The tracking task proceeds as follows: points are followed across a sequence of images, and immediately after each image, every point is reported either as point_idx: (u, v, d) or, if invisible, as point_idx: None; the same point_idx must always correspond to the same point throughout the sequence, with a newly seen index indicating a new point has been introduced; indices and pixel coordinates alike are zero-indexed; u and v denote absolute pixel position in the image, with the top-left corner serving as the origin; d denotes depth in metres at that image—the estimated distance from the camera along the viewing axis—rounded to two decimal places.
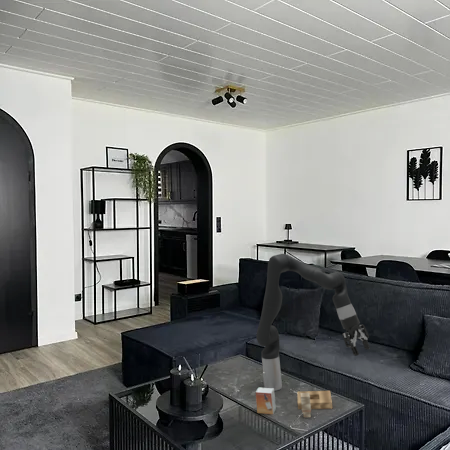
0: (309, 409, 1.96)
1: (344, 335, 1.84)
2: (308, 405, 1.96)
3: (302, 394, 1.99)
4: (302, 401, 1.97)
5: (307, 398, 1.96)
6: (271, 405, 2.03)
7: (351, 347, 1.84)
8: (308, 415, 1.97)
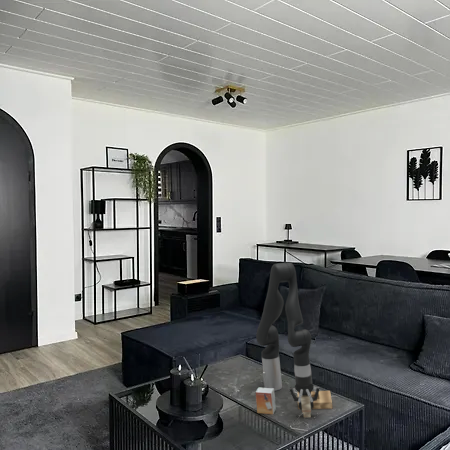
0: (309, 409, 1.96)
1: None
2: (308, 405, 1.96)
3: None
4: (302, 401, 1.97)
5: (307, 398, 1.96)
6: (271, 405, 2.03)
7: (298, 401, 1.99)
8: (308, 415, 1.97)
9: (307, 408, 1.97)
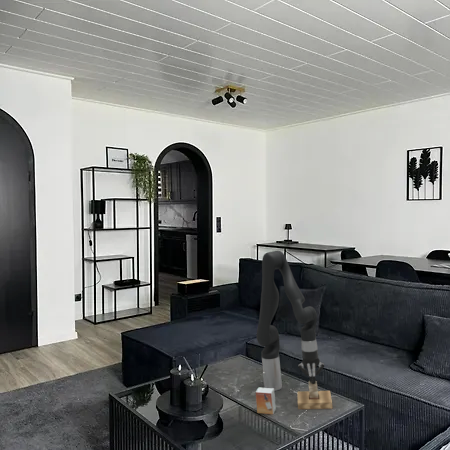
0: (316, 396, 2.08)
1: None
2: (316, 393, 2.08)
3: None
4: (310, 389, 2.08)
5: (315, 386, 2.07)
6: (271, 405, 2.03)
7: None
8: None
9: (315, 395, 2.08)
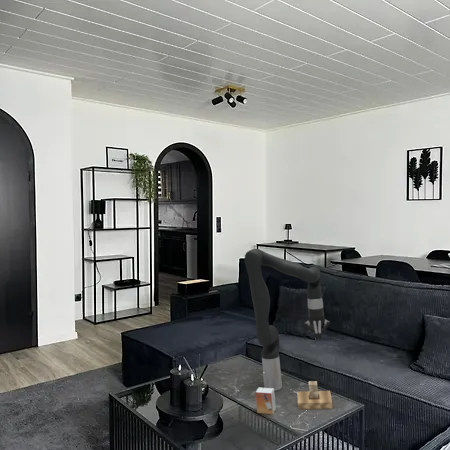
0: (317, 396, 2.08)
1: None
2: (316, 393, 2.08)
3: (310, 382, 2.10)
4: (310, 389, 2.08)
5: (315, 386, 2.07)
6: (271, 405, 2.03)
7: (314, 332, 2.19)
8: None
9: (315, 395, 2.08)
